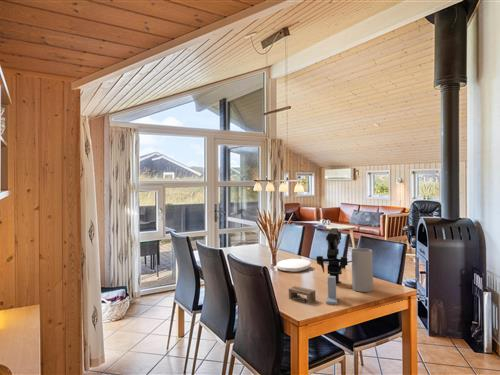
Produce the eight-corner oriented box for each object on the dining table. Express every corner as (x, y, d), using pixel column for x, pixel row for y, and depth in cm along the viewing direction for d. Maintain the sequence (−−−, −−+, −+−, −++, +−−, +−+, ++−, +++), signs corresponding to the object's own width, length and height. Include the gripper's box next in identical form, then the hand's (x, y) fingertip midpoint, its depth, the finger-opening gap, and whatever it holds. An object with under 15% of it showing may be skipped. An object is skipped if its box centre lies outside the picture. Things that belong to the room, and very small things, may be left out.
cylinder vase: (364, 285, 221) (363, 247, 221) (377, 291, 209) (376, 250, 209) (348, 288, 217) (347, 249, 216) (360, 293, 205) (360, 252, 205)
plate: (298, 268, 250) (269, 264, 267) (299, 277, 251) (270, 272, 268) (316, 257, 272) (288, 254, 288) (317, 265, 272) (289, 261, 289)
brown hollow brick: (295, 294, 206) (295, 286, 205) (315, 299, 196) (315, 290, 196) (288, 298, 200) (288, 288, 200) (309, 303, 191) (309, 293, 191)
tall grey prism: (327, 297, 200) (326, 275, 200) (337, 298, 198) (337, 276, 198) (326, 303, 189) (325, 280, 189) (337, 304, 188) (336, 281, 187)
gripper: (316, 243, 212) (314, 265, 202) (347, 244, 207) (346, 267, 197) (317, 252, 220) (316, 274, 210) (347, 253, 215) (347, 276, 205)
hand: (331, 272), depth 205 cm, fingers open, 9 cm apart
